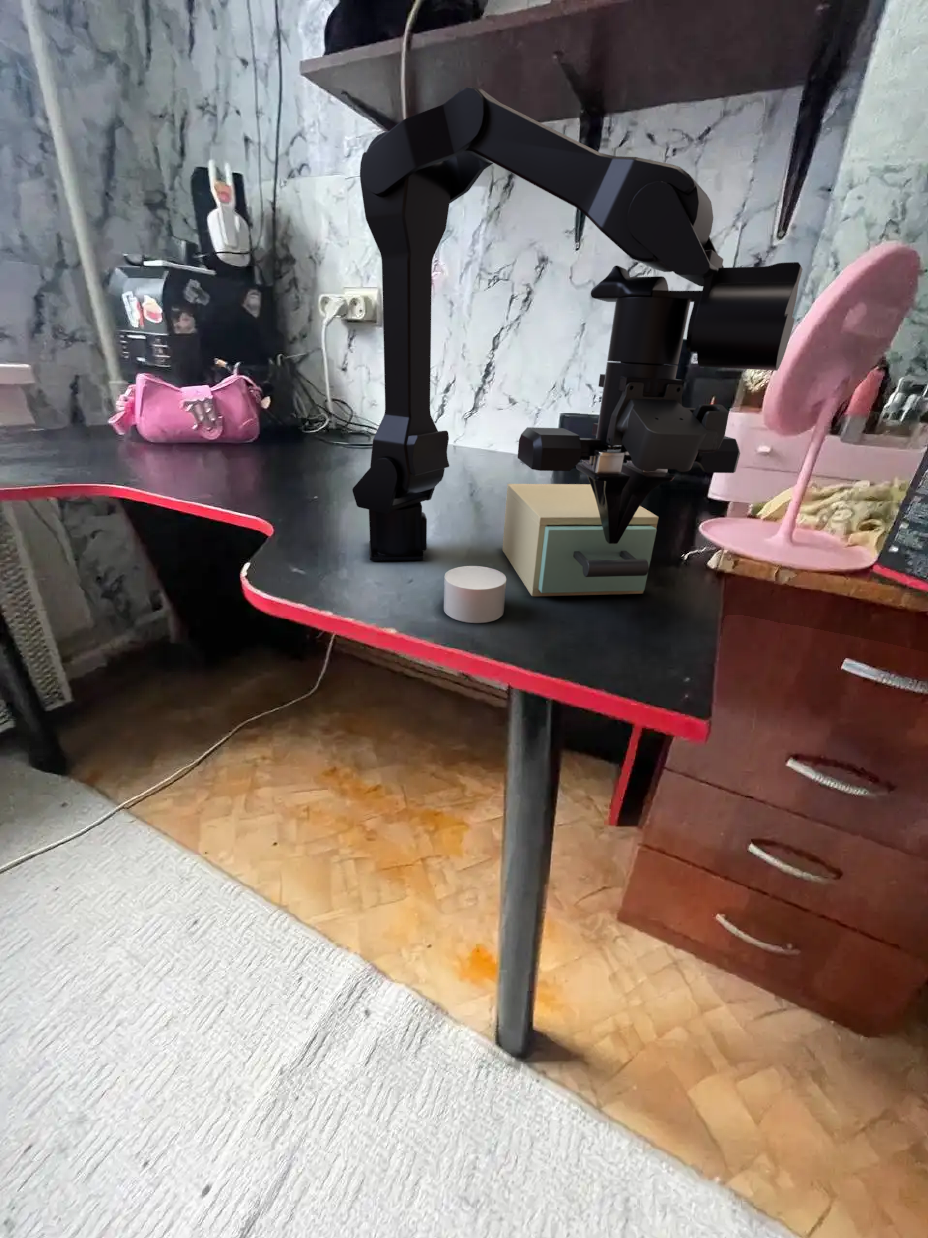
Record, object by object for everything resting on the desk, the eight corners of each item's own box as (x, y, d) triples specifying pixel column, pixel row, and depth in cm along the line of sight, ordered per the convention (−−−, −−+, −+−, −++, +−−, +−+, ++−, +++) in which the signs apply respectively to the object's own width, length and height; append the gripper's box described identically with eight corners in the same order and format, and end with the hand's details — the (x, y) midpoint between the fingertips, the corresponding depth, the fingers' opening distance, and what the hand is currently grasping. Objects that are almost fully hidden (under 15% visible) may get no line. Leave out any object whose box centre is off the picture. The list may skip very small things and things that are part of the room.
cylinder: (447, 624, 51) (448, 590, 50) (440, 597, 57) (441, 566, 55) (509, 622, 52) (512, 588, 51) (497, 596, 57) (499, 565, 56)
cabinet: (643, 593, 60) (658, 517, 56) (531, 596, 58) (540, 517, 54) (594, 549, 73) (604, 484, 69) (502, 550, 71) (507, 483, 67)
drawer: (665, 610, 54) (681, 544, 51) (555, 613, 52) (563, 545, 49) (597, 548, 70) (606, 495, 67) (511, 549, 68) (515, 495, 65)
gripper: (565, 362, 37) (540, 576, 44) (810, 373, 40) (750, 572, 47) (524, 357, 47) (509, 533, 54) (723, 366, 50) (684, 532, 57)
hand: (611, 542), depth 53 cm, fingers closed
